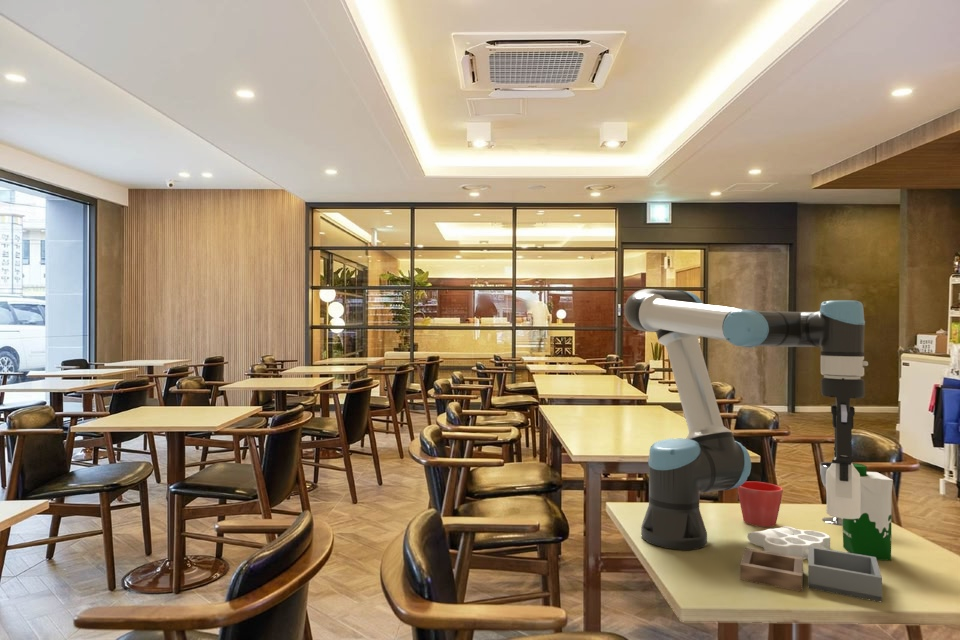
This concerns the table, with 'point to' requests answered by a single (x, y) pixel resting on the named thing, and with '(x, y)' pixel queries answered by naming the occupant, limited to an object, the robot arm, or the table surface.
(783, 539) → the white brass knuckles
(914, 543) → the table surface
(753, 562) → the holder
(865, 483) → the milk carton
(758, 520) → the flower pot
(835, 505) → the white tall rounded piece
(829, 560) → the tray
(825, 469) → the wine glass
